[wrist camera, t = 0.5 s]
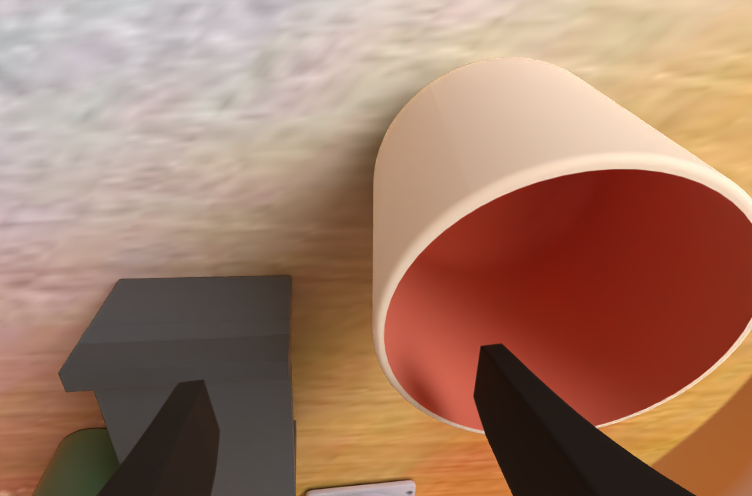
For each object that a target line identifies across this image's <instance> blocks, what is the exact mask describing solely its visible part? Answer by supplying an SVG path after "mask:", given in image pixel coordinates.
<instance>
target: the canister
mask: <svg viewBox="0 0 752 496" xmlns="http://www.w3.org/2000/svg"><path fill="white" fill-rule="evenodd" d="M119 466H120V463H119V461H118V458H117V455H116V452H115V449H114V446H113V444H112V441H111V438H110V435H109V432H108V430H107V429H101V428H95V429H85V430H81V431H77V432H75V433H72V434H71V435H69V436H67V437H66V438H65V439H64V440H63V441H62V442H61V443H60V445H59V446H58V448H57V450H56V452H55V454H54V456H53V457H52V459H51V461H50V463H49V465H48V467H47V468H46V470H45V472H44V474H43V476H42V478H41V479H40V481H39V483H38V485H37V487H36V489H35V490H34V492H33V494H32V496H96V495H97V494H98V493H99V492H100V490H101V489H102V488H103V487H104V485H105V484H106V483H107V482H108V480H109V479H110V478H111V476H112V475H113V474H114V473H115V471H116V470H117V469H118V468H119Z"/></svg>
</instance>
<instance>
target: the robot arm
mask: <svg viewBox="0 0 752 496" xmlns="http://www.w3.org/2000/svg"><path fill="white" fill-rule="evenodd" d="M473 398H474V401H475V404H476V407H477V411H478V414H479V417H480V420H481V423H482V426H483V429H484V432H485V434H486V437H487V439H488V441H489V444H490V446H491V448H492V450H493V453H494V455H495V457H496V459H497V462H498V464H499V466H500V468H501V470H502V473H503V475H504V477H505V479H506V481H507V484H508V486H509V488H510V490H511V492H512V495H513V496H696V495H694V494H692V493H691V492H689V491H688V490H686V489H684V488H682V487H681V486H680V485H678V484H676V483H675V482H673V481H672V480H670V479H668V478H667V477H665V476H663V475H662V474H660V473H659V472H657V471H656V470H654V469H653V468H651V467H650V466H648V465H647V464H645V463H644V462H642V461H641V460H640V459H638V458H637V457H635V456H634V455H632V454H631V453H630V452H628V451H627V450H625V449H624V448H623V447H621V446H620V445H618V444H617V443H616V442H614V441H613V440H612V439H610V438H609V437H608V436H606V435H605V434H604V433H602V432H601V431H600V430H599V429H597V428H596V427H595V426H594V425H592V424H591V423H590V422H589V421H587V420H586V419H585V418H584V417H582V416H581V415H580V414H579V413H578V412H576V411H575V410H574V409H573V408H572V407H570V406H569V405H568V404H567V403H566V402H565V401H564V400H563V399H561V398H560V397H559V396H558V395H557V394H556V393H555V392H553V391H552V390H551V389H550V388H549V387H548V386H547V385H546V384H545V383H543V382H542V381H541V380H540V379H539V378H538V377H537V376H536V375H535V374H534V373H533V372H532V371H531V370H529V369H528V368H527V367H526V366H525V365H524V364H523V363H522V362H521V361H520V360H519V359H518V358H517V357H516V356H515V355H514V354H513V353H512V352H511V351H509V350H508V349H507V348H506V347H505V346H504V345H503V344H502V343H499V344H491V345H483V346H480V352H479V359H478V367H477V374H476V381H475V388H474V395H473ZM219 438H220V429H219V426H218V423H217V420H216V416H215V413H214V410H213V407H212V404H211V401H210V397H209V394H208V391H207V388H206V385H205V382H204V379H203V380H195V381H187V382H179V383H178V384H177V385H176V386H175V388H174V389H173V391H172V392H171V394H170V395H169V397H168V398H167V400H166V401H165V403H164V404H163V406H162V407H161V409H160V410H159V412H158V413H157V415H156V416H155V418H154V419H153V421H152V422H151V423H150V425H149V426H148V428H147V429H146V431H145V432H144V433H143V435H142V436H141V438H140V439H139V440H138V442H137V443H136V444H135V446H134V447H133V449H132V450H131V451H130V453H129V454H128V455H127V457H126V458H125V460H124V461H123V462H122V464H121V465H120V466H119V468H118V469H117V470H116V471H115V473H114V474H113V475H112V476H111V478H110V479H109V480H108V482H107V483H106V484H105V485H104V487H103V488H102V489H101V490H100V492H99V493H98V494H97V495H96V496H211V493H212V488H213V483H214V479H215V474H216V467H217V458H218V448H219ZM415 490H416V485H415V482H414V481H412V480H405V481H395V482H386V483H376V484H366V485H356V486H346V487H337V488H327V489H317V490H310V491H308V492H307V493H306V495H305V496H414V495H415Z"/></svg>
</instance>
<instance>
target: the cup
mask: <svg viewBox="0 0 752 496" xmlns="http://www.w3.org/2000/svg"><path fill="white" fill-rule="evenodd" d="M751 329H752V199H751V197H750V196H749V195H748V194H747V193H746V192H745V191H744V190H743V189H742V188H740V187H739V186H738V185H737V184H735V183H734V182H733V181H731V180H730V179H728V178H727V177H726V176H724V175H723V174H721V173H720V172H718V171H717V170H715V169H714V168H712V167H711V166H709V165H708V164H706V163H705V162H703V161H702V160H700V159H699V158H697V157H696V156H694V155H693V154H691V153H690V152H688V151H687V150H685V149H684V148H683V147H681V146H680V145H678V144H677V143H675V142H674V141H672V140H671V139H669V138H668V137H666V136H665V135H663V134H662V133H660V132H659V131H657V130H656V129H654V128H653V127H651V126H650V125H648V124H647V123H645V122H644V121H642V120H641V119H639V118H638V117H637V116H635V115H634V114H632V113H631V112H629V111H628V110H626V109H625V108H623V107H622V106H620V105H619V104H617V103H616V102H614V101H613V100H611V99H610V98H608V97H607V96H605V95H604V94H602V93H601V92H599V91H598V90H596V89H595V88H593V87H592V86H590V85H589V84H587V83H586V82H584V81H583V80H581V79H580V78H578V77H577V76H575V75H574V74H572V73H570V72H569V71H567V70H565V69H563V68H561V67H558V66H556V65H553V64H551V63H547V62H543V61H539V60H536V59H529V58H520V57H501V58H494V59H486V60H482V61H478V62H474V63H470V64H467V65H465V66H462V67H459V68H457V69H454V70H452V71H450V72H448V73H446V74H444V75H442V76H441V77H439V78H437V79H436V80H434V81H433V82H431V83H430V84H428V85H427V86H426V87H424V88H423V89H422V90H421V91H419V92H418V93H417V94H416V95H415V96H414V97H413V98H412V99H411V100H410V101H409V102H408V103H407V104H406V105H405V106H404V107H403V108H402V110H401V111H400V112H399V114H398V115H397V116H396V118H395V119H394V120H393V122H392V124H391V125H390V127H389V129H388V131H387V132H386V134H385V136H384V139H383V141H382V144H381V146H380V149H379V152H378V155H377V159H376V164H375V169H374V190H373V341H374V347H375V351H376V355H377V358H378V361H379V363H380V366H381V368H382V370H383V372H384V374H385V376H386V377H387V379H388V380H389V381H390V383H391V384H392V386H393V387H394V388H395V389H396V390H397V391H398V392H399V393H400V394H401V395H402V396H403V397H404V399H406V400H407V401H408V402H409V403H411V404H412V405H413V406H414V407H416V408H417V409H419V410H420V411H422V412H424V413H425V414H427V415H429V416H431V417H433V418H435V419H437V420H439V421H441V422H443V423H446V424H449V425H451V426H454V427H457V428H460V429H464V430H467V431H471V432H476V433H481V434H485V432H484V429H483V426H482V423H481V420H480V417H479V414H478V411H477V407H476V404H475V401H474V398H473V395H474V388H475V381H476V374H477V367H478V359H479V352H480V346H483V345H491V344H499V343H502V344H503V345H504V346H505V347H506V348H507V349H508V350H509V351H511V352H512V353H513V354H514V355H515V356H516V357H517V358H518V359H519V360H520V361H521V362H522V363H523V364H524V365H525V366H526V367H527V368H528V369H529V370H531V371H532V372H533V373H534V374H535V375H536V376H537V377H538V378H539V379H540V380H541V381H542V382H543V383H545V384H546V385H547V386H548V387H549V388H550V389H551V390H552V391H553V392H555V393H556V394H557V395H558V396H559V397H560V398H561V399H563V400H564V401H565V402H566V403H567V404H568V405H569V406H570V407H572V408H573V409H574V410H575V411H576V412H578V413H579V414H580V415H581V416H582V417H584V418H585V419H586V420H587V421H589V422H590V423H591V424H592V425H594V426H595V427H596V428H600V427H604V426H607V425H610V424H614V423H617V422H620V421H623V420H626V419H628V418H631V417H634V416H636V415H639V414H641V413H643V412H646V411H648V410H650V409H653V408H655V407H657V406H659V405H661V404H663V403H665V402H667V401H669V400H670V399H672V398H674V397H676V396H678V395H679V394H681V393H683V392H684V391H686V390H687V389H689V388H691V387H692V386H693V385H695V384H696V383H698V382H699V381H701V380H702V379H703V378H705V377H706V376H707V375H708V374H710V373H711V372H712V371H713V370H715V369H716V368H717V367H718V366H719V365H720V364H721V363H723V362H724V361H725V360H726V359H727V358H728V357H729V356H730V355H731V354H732V353H733V352H734V351H735V350H736V348H737V347H738V346H739V345H740V344H741V342H742V341H743V340H744V339H745V338H746V336H747V335H748V333H749V332H750V331H751Z"/></svg>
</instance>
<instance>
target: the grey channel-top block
mask: <svg viewBox="0 0 752 496" xmlns="http://www.w3.org/2000/svg"><path fill="white" fill-rule="evenodd" d="M291 314H292V277H291V276H290V275H286V276H240V277H194V278H148V279H120V280H119V281H118V282H117V284H116V285H115V287H114V288H113V290H112V291H111V293H110V295H109V296H108V298H107V299H106V301H105V302H104V304H103V305H102V307H101V308H100V310H99V311H98V313H97V315H96V316H95V318H94V319H93V321H92V322H91V324H90V325H89V327H88V328H87V329H86V331H85V332H84V334H83V335H82V337H81V339H80V340H79V342H78V343H77V345H76V346H75V348H74V349H73V351H72V352H71V354H70V355H69V357H68V358H67V360H66V362H65V363H64V365H63V366H62V368H61V369H60V371H59V373H58V374H59V376H60V379H61V381H62V384H63V386H64V389H65V391H66V392H78V391H94V393H95V396H96V399H97V401H98V404H99V407H100V410H101V413H102V415H103V418H104V421H105V424H106V427H107V430H108V432H109V435H110V438H111V441H112V444H113V446H114V449H115V452H116V455H117V458H118V461H119V463H120V465H121V464H122V462H123V461H124V460H125V458H126V457H127V455H128V454H129V453H130V451H131V450H132V449H133V447H134V446H135V444H136V443H137V442H138V440H139V439H140V438H141V436H142V435H143V433H144V432H145V431H146V429H147V428H148V426H149V425H150V423H151V422H152V421H153V419H154V418H155V416H156V415H157V413H158V412H159V410H160V409H161V407H162V406H163V404H164V403H165V401H166V400H167V398H168V397H169V395H170V394H171V392H172V391H173V389H174V388H175V386H176V385H177V384H178V383H179V382H187V381H195V380H203V379H204V382H205V385H206V388H207V391H208V394H209V397H210V401H211V404H212V407H213V410H214V413H215V416H216V420H217V423H218V426H219V429H220V438H219V448H218V458H217V467H216V474H215V479H214V483H213V488H212V493H211V496H296V421H295V420H293V393H292V364H291Z"/></svg>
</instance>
